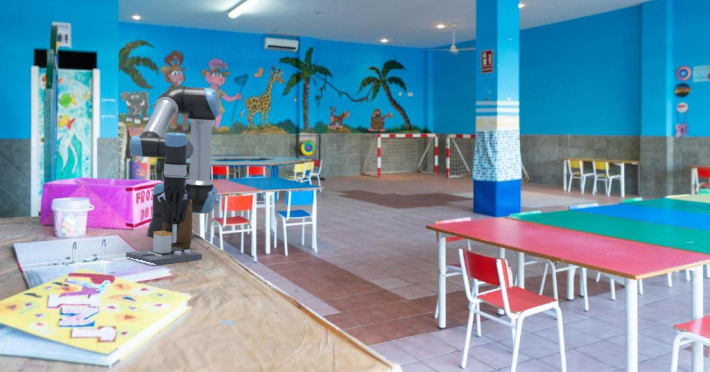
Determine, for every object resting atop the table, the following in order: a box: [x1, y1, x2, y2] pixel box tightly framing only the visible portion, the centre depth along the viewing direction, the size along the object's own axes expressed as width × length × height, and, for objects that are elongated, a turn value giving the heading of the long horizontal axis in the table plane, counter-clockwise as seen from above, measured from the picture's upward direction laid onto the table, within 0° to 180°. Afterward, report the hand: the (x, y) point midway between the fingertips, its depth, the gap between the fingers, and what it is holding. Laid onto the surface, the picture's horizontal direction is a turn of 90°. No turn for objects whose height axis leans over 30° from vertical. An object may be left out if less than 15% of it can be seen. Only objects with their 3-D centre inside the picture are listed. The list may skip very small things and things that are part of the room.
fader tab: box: [152, 231, 172, 253], centre depth 207 cm, size 4×5×7 cm
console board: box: [125, 247, 203, 266], centre depth 208 cm, size 20×16×4 cm
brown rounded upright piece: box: [161, 199, 193, 250], centre depth 228 cm, size 11×8×20 cm
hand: (172, 242), depth 210 cm, fingers closed
